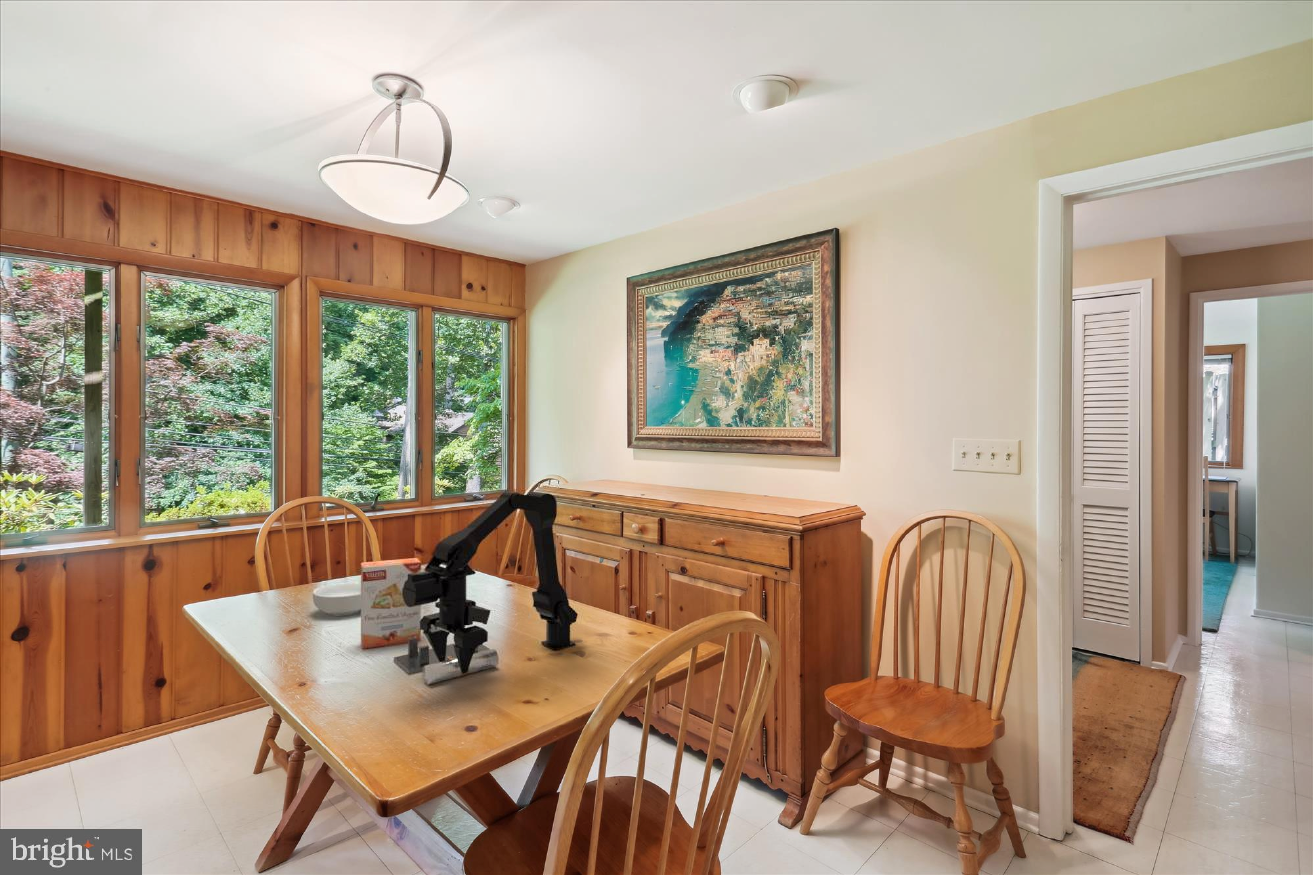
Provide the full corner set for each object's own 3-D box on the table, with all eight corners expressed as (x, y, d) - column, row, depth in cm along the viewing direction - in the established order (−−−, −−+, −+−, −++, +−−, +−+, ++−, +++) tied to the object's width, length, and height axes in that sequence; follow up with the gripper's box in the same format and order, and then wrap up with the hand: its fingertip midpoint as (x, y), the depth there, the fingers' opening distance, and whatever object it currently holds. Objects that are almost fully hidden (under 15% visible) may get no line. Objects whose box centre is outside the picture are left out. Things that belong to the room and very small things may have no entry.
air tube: (493, 668, 150) (488, 651, 152) (500, 663, 147) (495, 646, 149) (425, 687, 140) (421, 668, 141) (431, 681, 137) (427, 662, 139)
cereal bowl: (358, 621, 182) (358, 596, 182) (300, 620, 182) (300, 596, 182) (385, 604, 199) (385, 581, 199) (332, 603, 199) (332, 580, 199)
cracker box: (362, 650, 159) (361, 566, 159) (360, 642, 165) (359, 561, 164) (421, 641, 166) (421, 560, 165) (418, 634, 171) (417, 556, 171)
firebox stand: (491, 653, 157) (491, 633, 157) (408, 674, 144) (408, 652, 144) (473, 642, 165) (473, 623, 165) (393, 661, 152) (393, 640, 152)
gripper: (508, 597, 141) (508, 668, 142) (462, 583, 154) (462, 647, 154) (463, 608, 133) (463, 683, 133) (418, 592, 145) (418, 660, 146)
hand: (453, 667), depth 142 cm, fingers open, 9 cm apart
